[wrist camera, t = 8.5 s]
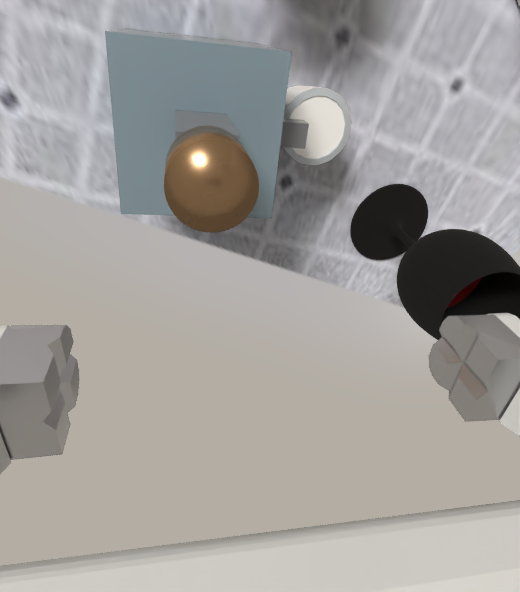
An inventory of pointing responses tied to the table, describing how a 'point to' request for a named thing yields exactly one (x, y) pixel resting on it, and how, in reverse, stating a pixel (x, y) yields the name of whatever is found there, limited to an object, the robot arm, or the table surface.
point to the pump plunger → (210, 179)
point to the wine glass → (435, 260)
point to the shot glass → (318, 122)
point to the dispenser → (194, 107)
